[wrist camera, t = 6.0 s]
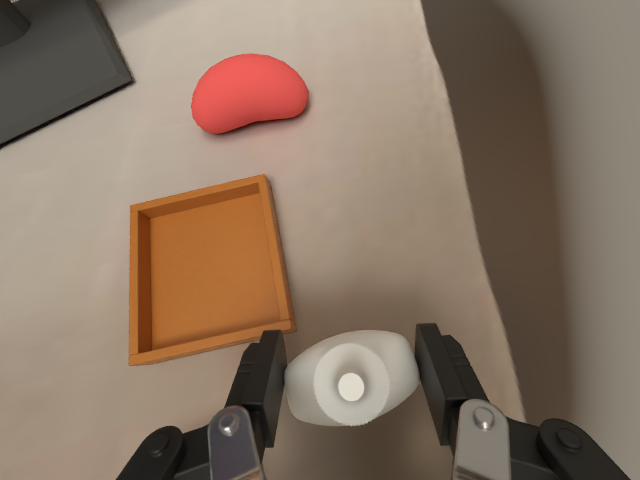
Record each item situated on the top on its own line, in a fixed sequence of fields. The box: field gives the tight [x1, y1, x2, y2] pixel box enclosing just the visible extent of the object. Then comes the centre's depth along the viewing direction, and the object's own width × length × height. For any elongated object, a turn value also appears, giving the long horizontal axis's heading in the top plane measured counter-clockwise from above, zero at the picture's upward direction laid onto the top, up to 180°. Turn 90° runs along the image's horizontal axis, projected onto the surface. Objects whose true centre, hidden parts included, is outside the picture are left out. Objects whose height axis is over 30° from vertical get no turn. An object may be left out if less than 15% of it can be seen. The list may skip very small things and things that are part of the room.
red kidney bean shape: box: [191, 54, 309, 134], centre depth 25 cm, size 5×9×6 cm
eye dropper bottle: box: [284, 330, 420, 426], centre depth 14 cm, size 4×6×12 cm
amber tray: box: [129, 174, 297, 366], centre depth 22 cm, size 11×10×2 cm
